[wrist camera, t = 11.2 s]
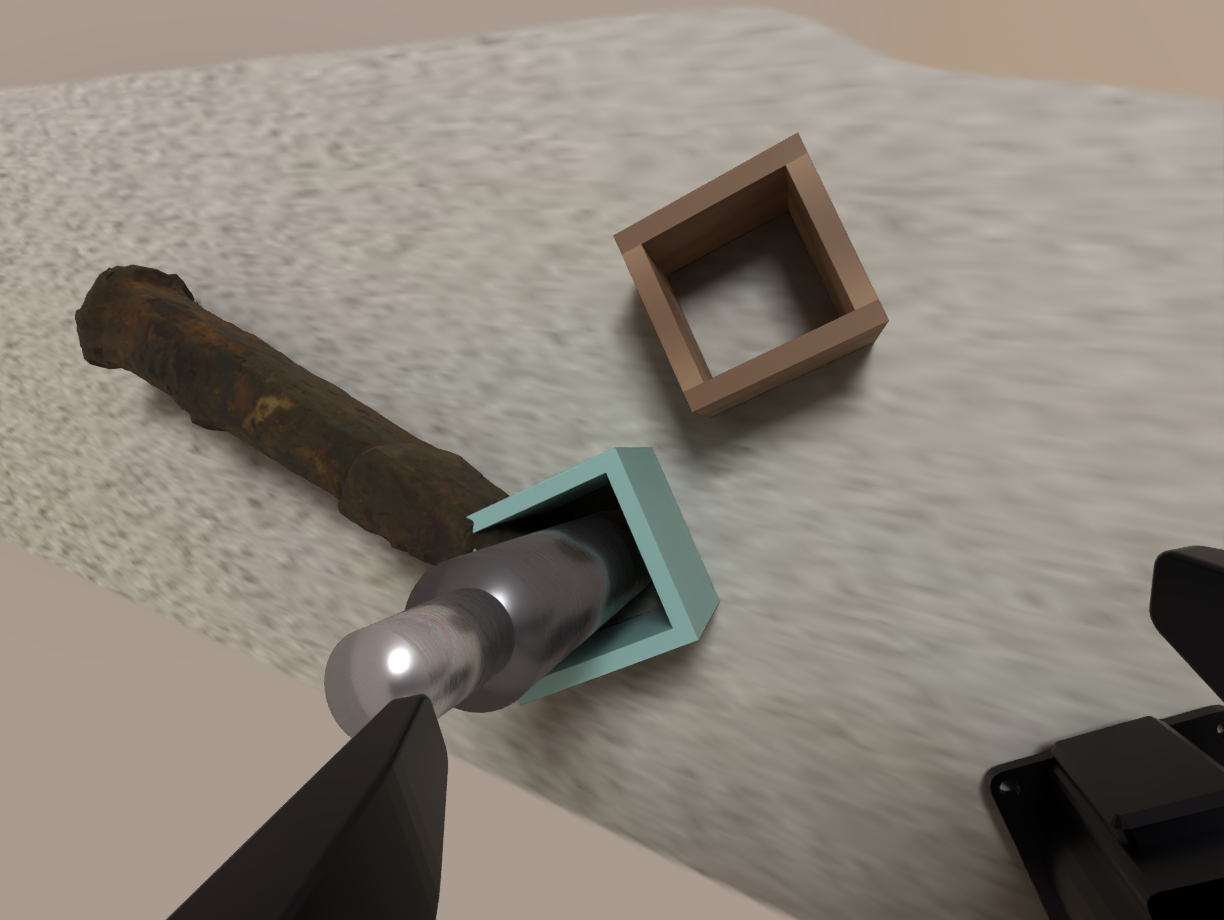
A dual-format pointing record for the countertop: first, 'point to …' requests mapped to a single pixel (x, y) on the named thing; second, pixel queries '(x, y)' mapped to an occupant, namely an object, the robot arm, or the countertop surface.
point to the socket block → (717, 220)
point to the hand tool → (289, 415)
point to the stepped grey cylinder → (489, 622)
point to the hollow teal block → (659, 545)
